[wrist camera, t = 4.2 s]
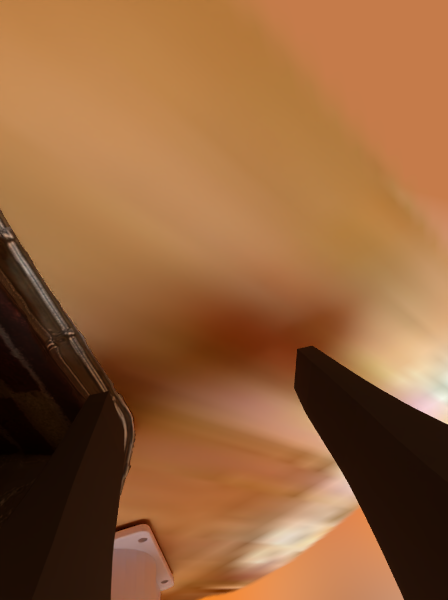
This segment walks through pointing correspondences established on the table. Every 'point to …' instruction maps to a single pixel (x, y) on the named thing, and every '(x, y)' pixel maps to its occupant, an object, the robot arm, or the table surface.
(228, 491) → the table surface
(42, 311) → the chocolate cake
